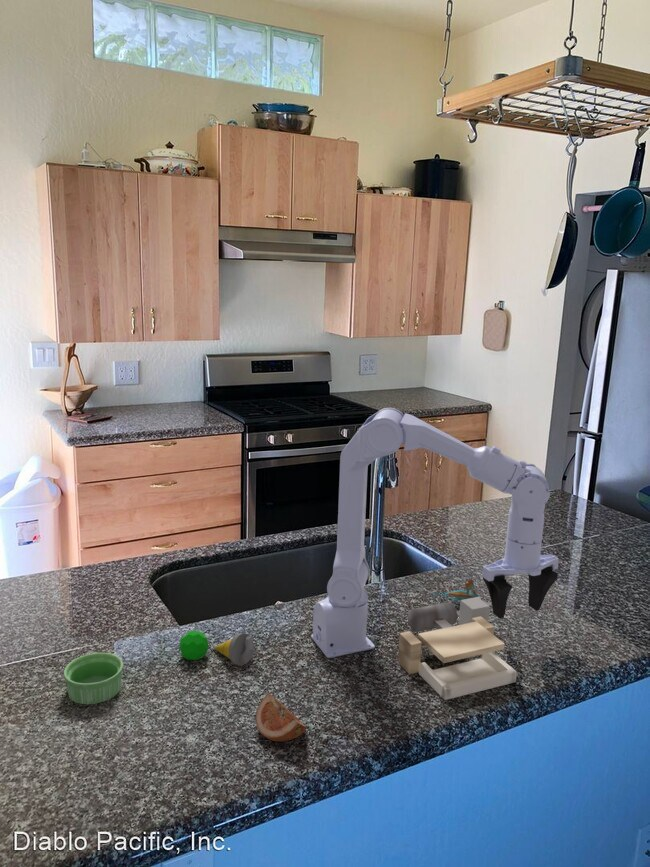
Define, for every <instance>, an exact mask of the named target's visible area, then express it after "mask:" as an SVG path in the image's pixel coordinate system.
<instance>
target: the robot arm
mask: <svg viewBox="0 0 650 867" xmlns="http://www.w3.org/2000/svg"><path fill="white" fill-rule="evenodd" d="M402 445H404V448H403V451H404V452H407V451H411V450H412V451H413V450H417V449H421V448H423V449H426V450H428V451H430V452H432V453H435V454H437V455H439V456H441V457H444V458H446V459H449V460H451V461H453V462H455V463H458V464H460V465H463V466H465V467H466V468H467V471H468V474H469V477H470V478H473V479H475V480H476V481H479V482H481V483H483V484H484V485H486V486H489V487H491V488H492V489H495V490H498V491H500V492H501V493H503V494H508V495H511V501H510V502H511V503H510V508H509V510H508V518H507V528H506V538H505V546H504V547H505V548H504V556H503V558H501V559H498V560H497V561H494V562H492V563H490V564H487V565H483V566H482V573H481V577H482V579H483V581H484V583H485V585H486V588H487V591H488V594H489V597H490V601H491V606H492V607H491V608H492V614H493V615H495V616H496V617H497V618H498V619H504V618H505V615H506V608H507V602H508V599H509V595H510V592H511V590H512V589H513V587H514V586H513V585H512V584H511V583H509V582H508V581H507V580H508V579H507V578H506V577H508V576H515V575H528V597H527V598H528V601H527V602H528V606H529V607H530V608H531V609H532V610H534V611H536V612H538V611H540V610H541V608H542V605H543V602H544V600H545V598H546V596H547V593H548V592H549V590H550V588H551V587H552V586H553V585H554V584H555V583H556V582H557V580H558V573H557V572H556V571H554V570H558V569H559V563H560V562H559V560H560V558H558V557H557V556H555V555H553V554H552V553H551V554H541V551H542V542H543V541H542V540H543V533H544V525H545V524H544V522H545V509H546V504H547V502H548V500H549V499H550V497H551V492H550V486H549V483H548V480H547V478H546V475H545V473H544V472H543V471H542V470H541V469H540V468H539V467H538V466H536V465H535V464H533V463H528V462H527V461H525V460H522V459H521V460H520V461H518V460H516V459H514V458H512V457H510V456H508V455H506V454H503V453H502V450H501V448H499V447H498V446H495V445H492V447H489V446H487V445H483V446H481V447H476V448H475V447H472V446H470V445H469V444H466V443H465V442H463V441H461V440H459V439H457V438H456V437H454V436H452V435H451V434H448V433H447V432H444V431H442V430H441V429H439V428H436V427H435V426H433V425H431V424H430V423H427V422H426V421H424V420H421V419H420V418H419V417H417V416H414V415H412V414H409V413H403V412H401V410H398V409H397V408H394V407H384V408H382V409H380V410H378V411H377V412H375V413H373V414H372V415H371V416H369V417H368V418H367V419H366V420H365V422H363V423H362V425H361V426H360V428H359V429H358V430H357V432H355V434H354V435H353V436H352V438H351V439H350V440H349V442H348V443H347V444H346V445H345V446H344V448H343V449H342V450H341V453H340V457H339V458H340V459H339V481H338V485H339V486H338V505H337V506H338V507H337V508H338V510H337V512H338V514H337V535H336V536H337V537H336V552H335V557H334V560H333V565H332V576H331V577H330V579H329V580H328V582H327V586H326V592H327V597H325V598H324V599H323V600H320V601H317V602H315V603H314V606H313V611H312V612H313V618H312V619H313V620H312V634H311V635H310V638H311V639H312V641H313V642H315V644H316V646H317V647H318V648H319V649H320V651H321V652H322V653H323V655H324V656H325V657H326V658H328V659H331V658H336V657H341V656H346V655H350V654H355V653H360V652H365V651H369V650H374V649H375V648H376V645H375V644H374V643H373V642H372V640H370V639H369V637H368V636H367V626H368V624H367V623H368V604H369V594H368V593H367V591H366V589H365V585H366V584H367V581H368V579H369V577H370V566H369V563H368V562H367V559H366V548H365V534H366V533H365V531H366V529H365V528H366V515H367V514H366V513H367V512H366V511H367V510H366V509H367V493H368V492H367V491H368V490H367V489H368V473H369V472H368V469H369V468H368V467H369V465H370V464H372V463H373V462H374V461H376V460H377V459H379V458H382V457H383V458H384V457H386V456H389V455H392V454H394V453H395V452H397V451H399V449H400V447H401V446H402Z"/></svg>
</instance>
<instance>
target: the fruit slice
mask: <svg viewBox="0 0 650 867" xmlns="http://www.w3.org/2000/svg"><path fill="white" fill-rule="evenodd" d="M255 725H256V727H257V730H258V731H259V733H260V734H261V735H262V736H263V737H265V738H266V739H269V741H273V742H287V741H292V740H294V739H296V738H298V737H300V736H301V735H303V733H305V732H306V731H307V728H308V727H307V726H305V724H304V723H303V722H302V720H300V719H299V718H298V717H297V716H296V715H295V714H294V713H293V712H292V711H291V710H289V709H288V708H287V707H286V706H285V704H283V703H282V702H281V701H279V700H278V699H277V698H276V697H275V696H274V695H273V694H271V693H270V692H268V693H266V695H265V696H264V697H263V698H262V700H261V701H260V703H259V705H258V707H257V709H256V713H255Z"/></svg>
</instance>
